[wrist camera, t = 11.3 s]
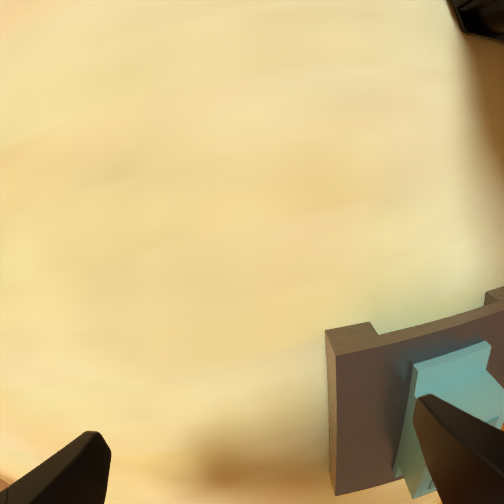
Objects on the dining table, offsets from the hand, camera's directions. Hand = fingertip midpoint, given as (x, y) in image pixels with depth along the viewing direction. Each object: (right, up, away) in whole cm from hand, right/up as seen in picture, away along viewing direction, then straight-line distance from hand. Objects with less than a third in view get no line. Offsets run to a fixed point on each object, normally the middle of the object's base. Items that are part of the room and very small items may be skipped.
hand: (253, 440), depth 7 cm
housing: (+14, -7, +11) cm, 19 cm away
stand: (+14, -6, +14) cm, 21 cm away
